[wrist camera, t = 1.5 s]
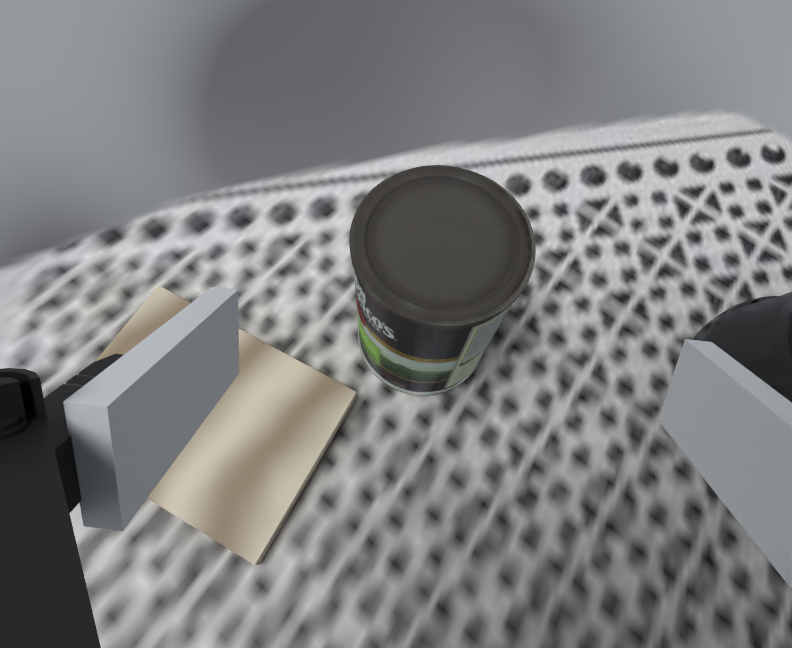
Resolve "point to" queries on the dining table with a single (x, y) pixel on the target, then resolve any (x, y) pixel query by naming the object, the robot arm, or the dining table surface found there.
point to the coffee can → (435, 274)
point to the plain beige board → (245, 439)
